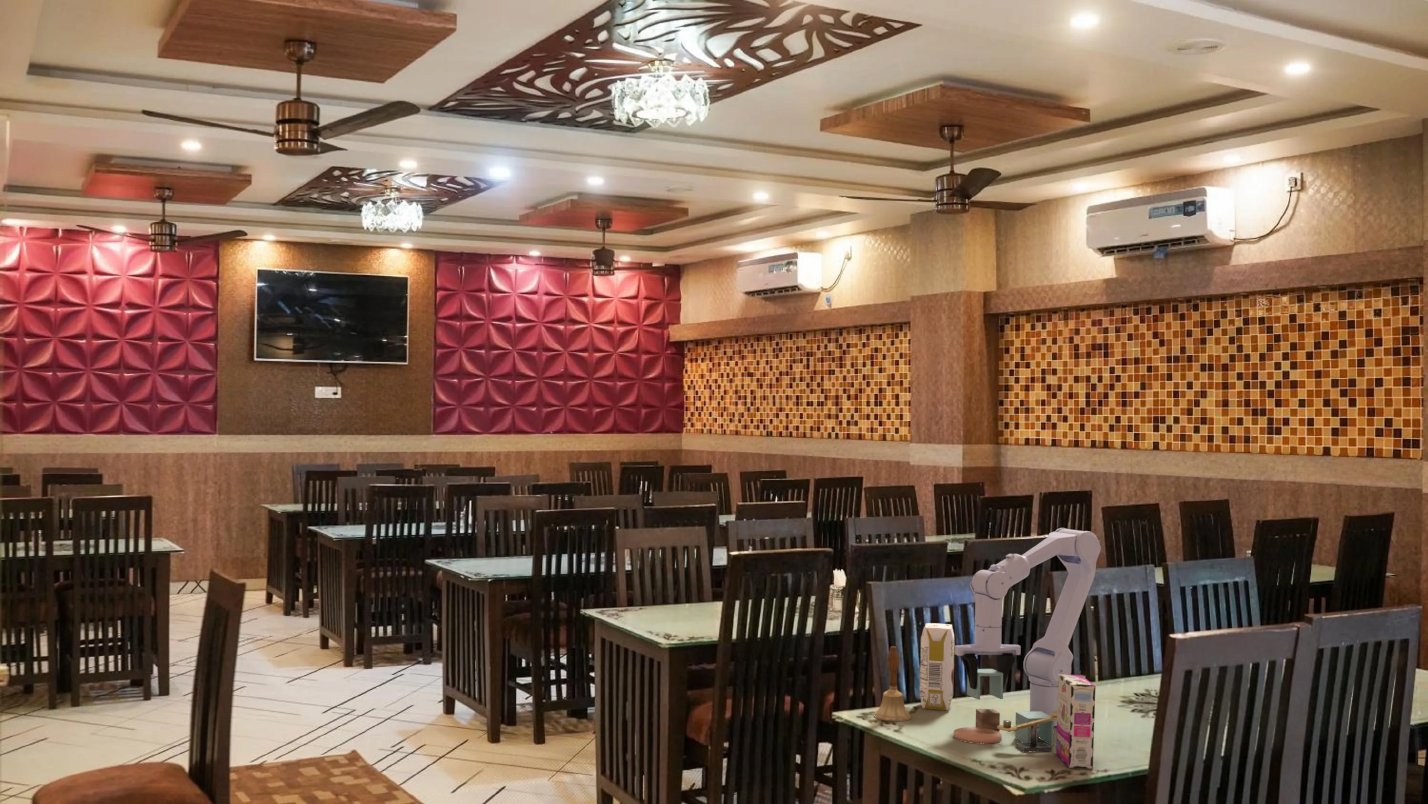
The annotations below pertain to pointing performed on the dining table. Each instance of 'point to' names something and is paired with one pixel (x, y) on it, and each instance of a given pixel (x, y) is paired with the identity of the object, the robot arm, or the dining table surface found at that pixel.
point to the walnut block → (987, 719)
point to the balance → (1033, 733)
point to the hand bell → (892, 694)
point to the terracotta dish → (977, 735)
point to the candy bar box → (1075, 721)
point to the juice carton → (937, 666)
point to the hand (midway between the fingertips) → (987, 687)
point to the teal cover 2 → (1044, 729)
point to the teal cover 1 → (995, 683)
